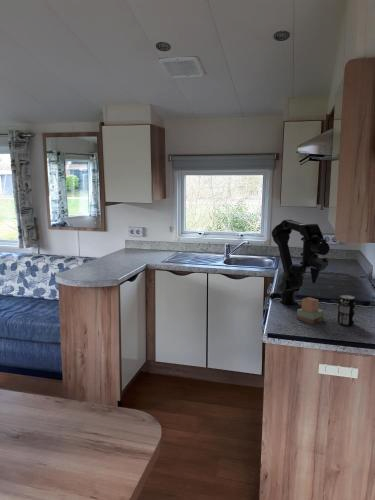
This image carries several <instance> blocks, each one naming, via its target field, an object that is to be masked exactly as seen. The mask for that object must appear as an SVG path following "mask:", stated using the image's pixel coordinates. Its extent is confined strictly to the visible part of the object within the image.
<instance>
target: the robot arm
mask: <svg viewBox="0 0 375 500" xmlns="http://www.w3.org/2000/svg"><path fill="white" fill-rule="evenodd" d="M320 228H321V227H320V226H319V224H317V223H304V222H298V221H296V220H294V219H293V220H292V219H283V220H281V222H280V223H279V224H278V225H275V226H274V227H273V229H272V231H271V237H272V240H273V242H274V243H275V244H276V245H277V247H278V252H279V256H280V260H281V265H282V270H283V275H282V277H281V278H282V281H281V283H280V284H279V285H278V289H279V291H280V292H282V294H281V300H279V303H282V304H284V305H287V306H291V305H296V304H298V301H296V296H297V295H296V292H299V291H300V288H301V287H302V286H303V283H304V276H305V275H306V274H307V272H306V271H307V269H309V270H310V276H311V282H312V284H316V282H317V280H318V278H319V275H320V273H321V272H322V271H324V270H325V269H326V268H327V267H328V266H329V259H328V258H327V257H324V258H319V255H321V256H326V255H328V253H329V252H330V249H331V248H330V245H329V243H328V242H327V239H325V238H324V235H323V233H322V230H321V229H320ZM293 231H295V232H298V233H299V234H300V235H301V236H302V237H301V238H300V240H301V241H302V242H303V243H302V252H300V256H302V257H301V258H302V259H301V260H302V261H300V263H295V264H294V263H293V260H292V256H291V251H290V246H289V242H290V235H291V233H292V232H293Z"/></svg>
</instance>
